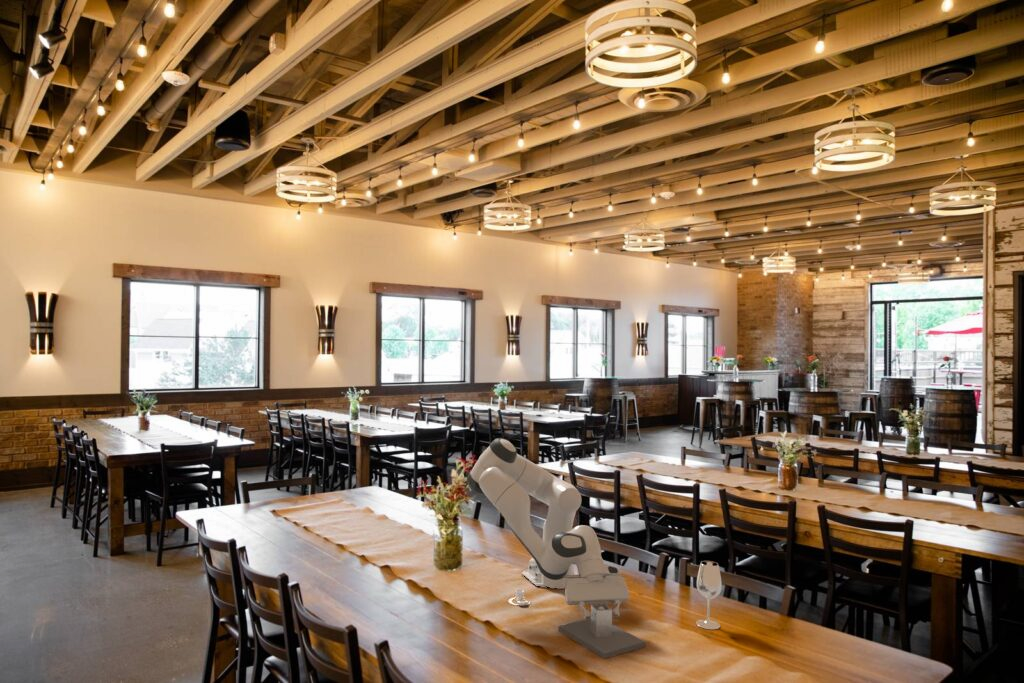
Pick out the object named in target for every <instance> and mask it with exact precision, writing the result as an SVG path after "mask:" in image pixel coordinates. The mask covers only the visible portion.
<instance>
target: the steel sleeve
mask: <svg viewBox="0 0 1024 683" xmlns="http://www.w3.org/2000/svg"><path fill="white" fill-rule="evenodd" d="M599 607H604V609H605V610H598V609H599ZM612 611H613V610H612V608H610V606H609V605H608V604H590V618H591V628H590V631H591V632H592V633H593V635H594V636H595V637H596V638H597V637H611V634H612V624H613V613H612Z"/></svg>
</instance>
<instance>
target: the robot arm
mask: <svg viewBox="0 0 1024 683" xmlns="http://www.w3.org/2000/svg"><path fill="white" fill-rule="evenodd" d="M466 481H467V482H466V484H467V486H468V487H469V489H470V490H471V491H472V492H474V493H475V494H477V495H479V496H486V498H487V499H488V500H489V501H490V503H491V504H492V505H493V507H495V508H496V509H497V511H498V512H500V514H501V515H502V516H503V518H504V519H505V521H506V522H507V524H508V527H509V528H510V530H511V532H512V533H513V535H515V537H516V539H517V540H518V541H519V543H521V545H522V546H523V547H524V549H526V551H527V552H528V554H529V555H530V556H531V557H532V558H530V559H529V561H528V566H527V569H526V570H523V571H522V572H521V575H522V574H523V575H525V576H526V577H527V578H528V579H529V580H530V581H532V582H533V583H534V584H535V585H538V586H547V587H550V588H549V589H554V588H557V589H559V590H561V589H563V590H564V591H565V592H564V595H565V596H564V597H565V602H566V604H567V605H568V606H577V607H578V609H579V611H581V613H582V614H583V618H584V619H589V618H591V611H590V610H587V609H586V608H585V606H586V605H587V606H588V605H597V604H607V605H608V604H613V606H614V607H615V608H614V609H613V610H612V617H613V618H614V617H615V618H617V617H619V616H620V611H619V609H620V605H621V604H625V603H626V602H627V601H628V600H629V598H630V591H629V588H628V584H627V582H626V579H625V578H624V577H623V576H621V574H622V570H621V568H619V567H618V566H612V565H609V564H607V563H605V561H604V559H603V557H602V548H601V545H600V541H599V538H598V536H597V533H596V532H595V530H594V528H592V527H591V526H589V525H585V524H584V525H583V524H581V525H580V524H579V525H576V526H575V527H573V526H574V521H575V516H576V513H577V511H578V510H579V508H580V507H581V505H582V496H581V493H580V491H579V489H577V488H576V487H575V485H573V484H572V483H570V482H567V481H565V480H563V479H561V478H560V477H558V476H556V475H554V474H552V473H551V472H549V471H548V470H546V469H544V468H543V467H541V466H539V465H538V464H536V463H534V462H532V461H531V460H529V459H528V458H526V457H525V456H522V455H520V454H518V452H517V448H516V446H515V445H513V443H511V442H510V440H508V439H506V438H503V437H499V438H495V439H494V440H492V442H490V443H489V446H488V447H487V448H486V449H484V451H483V452H482V453H481V454H480V456H479V457H478V459H477V460H476V462H475V464H474V466H473V467H472V469H470V471H469V472H468V475H467V477H466ZM530 496H531V497H533V498H534V499H536V500H537V501H540V502H542V503H543V504H545V505H547V506H548V512H547V516H546V518H545V521H544V523H543V525H542V526H543V527H542V537H541V536H540V535H539V534H538V533H537V532H536V531H535V529H534V527H533V525H532V521H531V498H530ZM575 566H576V569H577V573H578V574H575ZM530 581H529V582H530ZM535 585H534V586H535ZM547 587H546V588H547Z"/></svg>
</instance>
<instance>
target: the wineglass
mask: <svg viewBox="0 0 1024 683" xmlns="http://www.w3.org/2000/svg"><path fill="white" fill-rule="evenodd" d="M696 588H697V591H698V593H699V594H700V595H701V596H702V597H704V599H706V605H707V608H706V619H697V621H696V622H695V624H696V625H697V626H698V627H699V628H701V629H706V630H717V629H719V628H721V624H720V623H719V622H717V621H714V620H711V618H710V612H711V611H710V609H711V608H710V607H711V601H712V600H713V599H715V598H717V597H718V596H719V595H720V593H721V591H722V576H721V570H720V566H719V563H718V562H715V561H712V560H711V561H710V560H703V561H700V564H699V568H698V573H697V577H696Z"/></svg>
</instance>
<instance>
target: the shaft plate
mask: <svg viewBox="0 0 1024 683" xmlns="http://www.w3.org/2000/svg"><path fill="white" fill-rule="evenodd" d="M598 610H605V609H604V607H599V609H598ZM557 628H558V629H557V631H558V632H560V633H561V634H563V635H564V634H565V636H567V638H570V639H571V640H573V641H575V642H576V643H578V644H579V645H581V646H583V647H585V648H586V649H587V650H590V651H591V652H593V653H594V654H596V655H598V656H599V657H602V658H603V659H607V658H608V659H609V658H611V657H614V655H615V656H618V654H619V655H621V654H624V653H625V652H626V653H628V652H629V653H630V652H632V651H636V650H640V649H643V648H645V647H646V641H645V640H643V639H641V638H639V637H637V636H635V635H634V634H632V633H630V632H628V631H626V630H624V629H622V628H620V627H619V626H617V625H615V624H613V623H612V634H611V637H597V638H596V637H595V636H594V635H593V633H592V632H591V631H590V628H591V617H589V618H584V619H581V620H577V621H574V622H569V623H565V624H561V625H558V627H557ZM642 647H643V648H642Z"/></svg>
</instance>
